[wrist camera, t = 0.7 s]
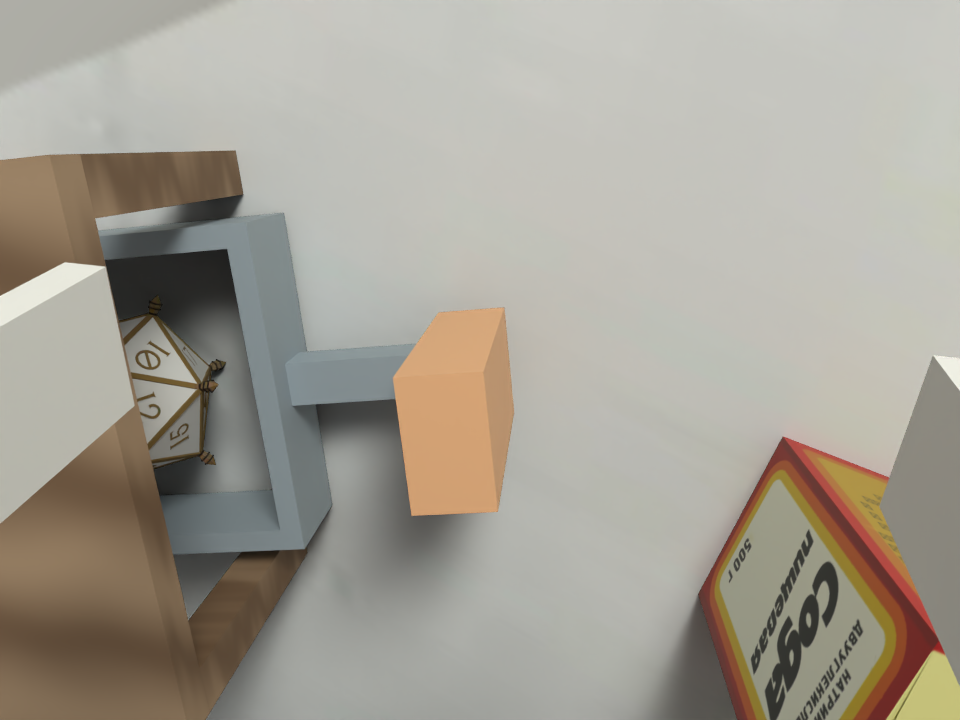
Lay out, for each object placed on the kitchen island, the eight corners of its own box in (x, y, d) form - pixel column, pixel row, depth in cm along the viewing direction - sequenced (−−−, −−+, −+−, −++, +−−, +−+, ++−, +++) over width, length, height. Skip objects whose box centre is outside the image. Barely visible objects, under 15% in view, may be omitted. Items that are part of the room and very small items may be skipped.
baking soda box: (783, 436, 36) (945, 647, 21) (908, 485, 37) (1161, 731, 21) (698, 594, 39) (787, 882, 24) (815, 639, 39) (979, 955, 24)
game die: (178, 374, 43) (-18, 446, 36) (177, 246, 38) (-52, 303, 31) (272, 473, 39) (73, 575, 32) (286, 347, 34) (52, 436, 27)
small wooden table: (307, 552, 41) (191, 742, 28) (117, 560, 42) (-78, 744, 29) (235, 150, 35) (49, 154, 22) (19, 174, 37) (-275, 190, 24)
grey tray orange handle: (524, 495, 38) (511, 638, 27) (65, 517, 41) (-115, 654, 30) (496, 192, 34) (467, 214, 23) (-10, 241, 37) (-248, 282, 26)
